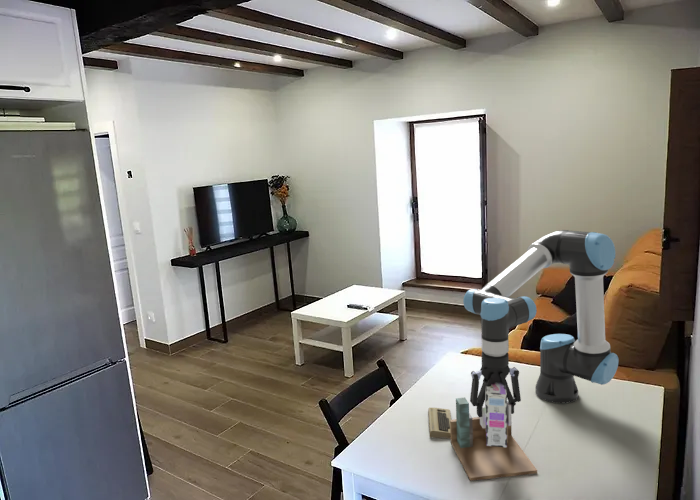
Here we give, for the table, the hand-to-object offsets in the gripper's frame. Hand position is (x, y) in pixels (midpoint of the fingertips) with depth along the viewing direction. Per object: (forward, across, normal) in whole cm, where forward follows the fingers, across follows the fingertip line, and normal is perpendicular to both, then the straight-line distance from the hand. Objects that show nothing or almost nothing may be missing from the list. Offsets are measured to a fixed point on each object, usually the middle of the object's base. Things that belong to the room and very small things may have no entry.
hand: (495, 424), depth 149 cm
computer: (+14, +10, -25) cm, 30 cm away
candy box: (+3, 0, 0) cm, 3 cm away
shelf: (+13, 0, -4) cm, 14 cm away
